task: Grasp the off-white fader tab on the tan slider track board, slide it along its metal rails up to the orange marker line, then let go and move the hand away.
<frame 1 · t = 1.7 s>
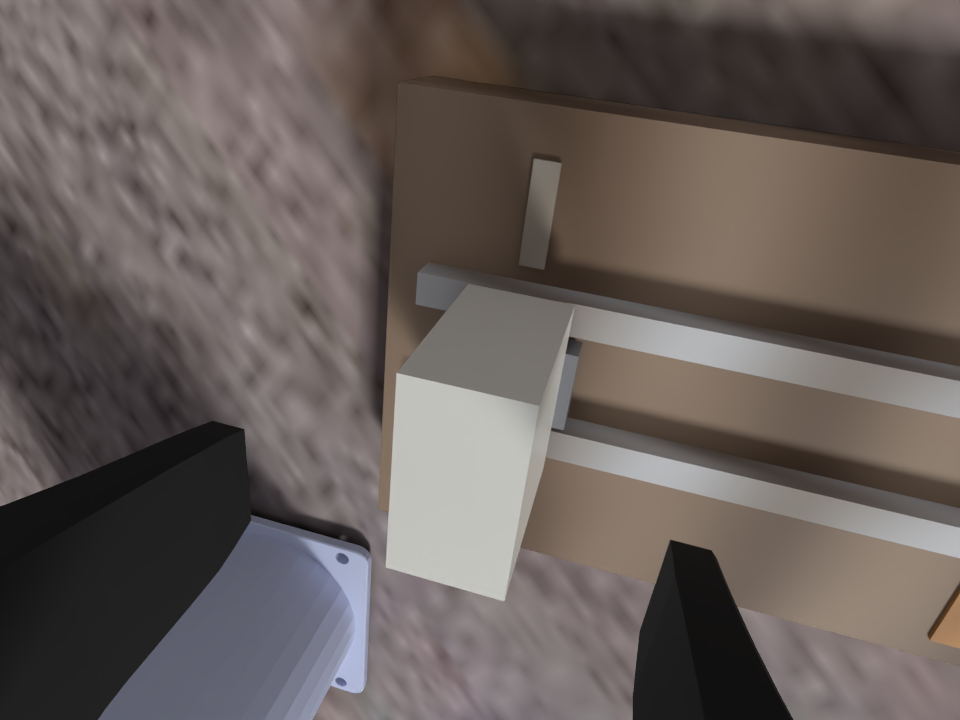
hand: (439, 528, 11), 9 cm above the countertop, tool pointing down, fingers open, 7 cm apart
tan slider track board: (775, 373, 17), on the countertop
fader: (489, 419, 14), point 5 cm above the countertop, slide at 0.0 cm
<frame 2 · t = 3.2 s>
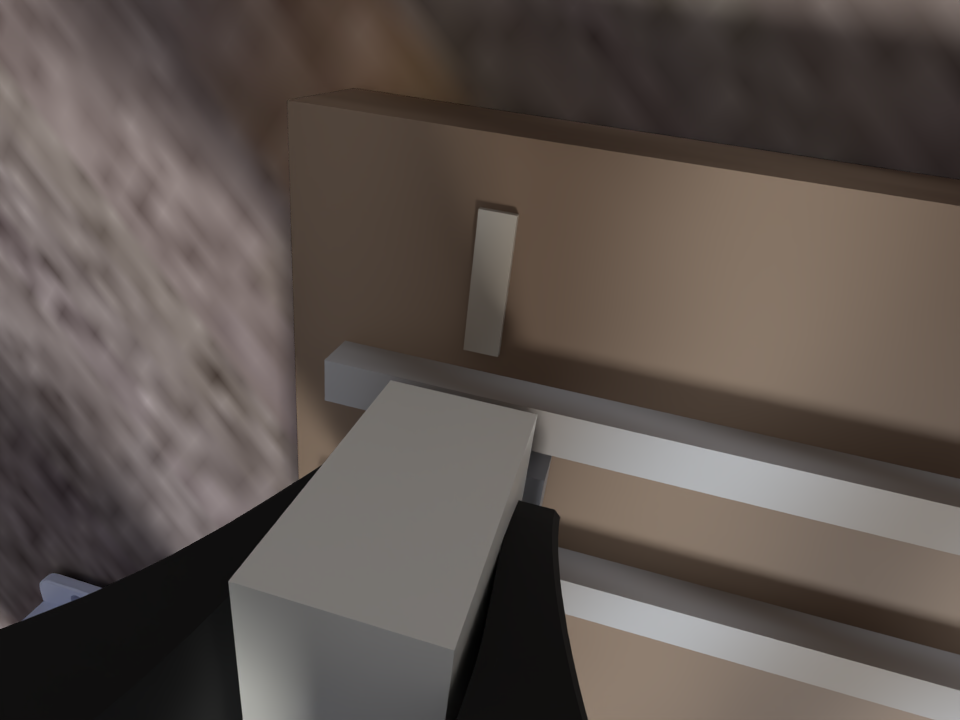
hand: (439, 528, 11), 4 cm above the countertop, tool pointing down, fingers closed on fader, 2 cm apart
tan slider track board: (809, 477, 13), on the countertop
fader: (414, 581, 10), point 5 cm above the countertop, slide at 0.0 cm, touching gripper
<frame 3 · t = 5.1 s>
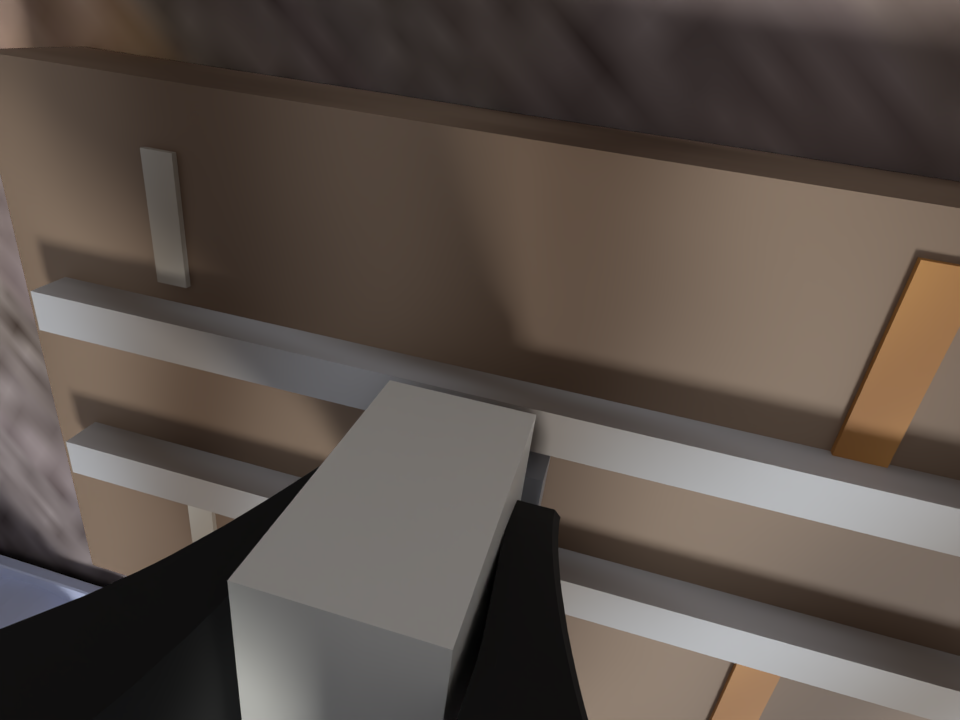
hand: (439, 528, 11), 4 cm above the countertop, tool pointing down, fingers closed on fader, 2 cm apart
tan slider track board: (524, 411, 14), on the countertop
fader: (413, 580, 10), point 5 cm above the countertop, slide at 5.9 cm, touching gripper
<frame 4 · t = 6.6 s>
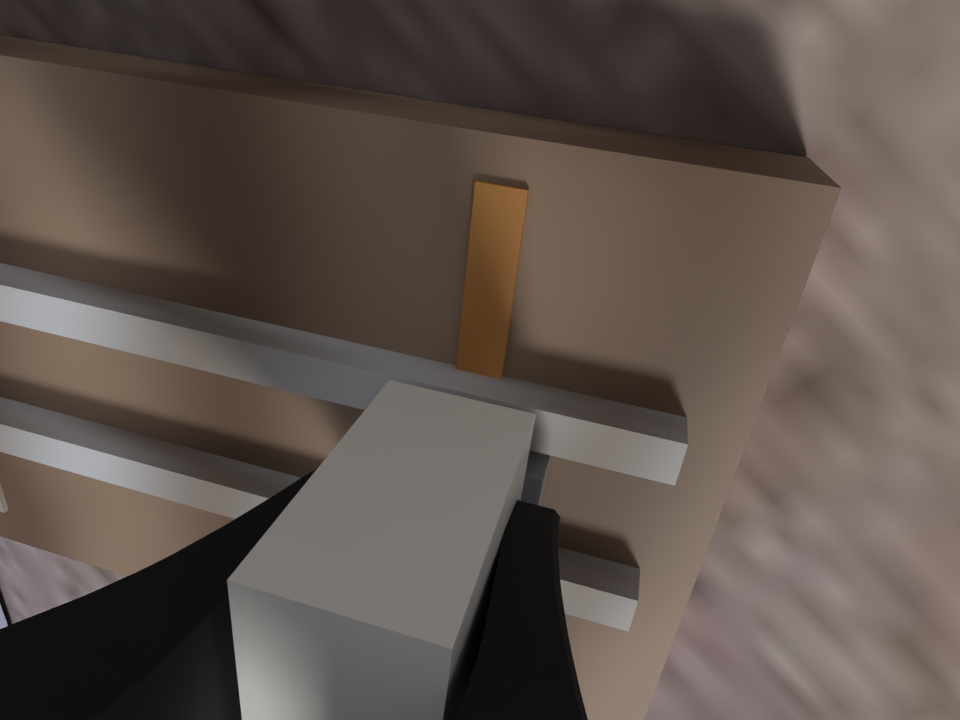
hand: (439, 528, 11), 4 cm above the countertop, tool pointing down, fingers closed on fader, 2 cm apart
tan slider track board: (270, 351, 15), on the countertop
fader: (413, 580, 10), point 5 cm above the countertop, slide at 12.0 cm, touching gripper
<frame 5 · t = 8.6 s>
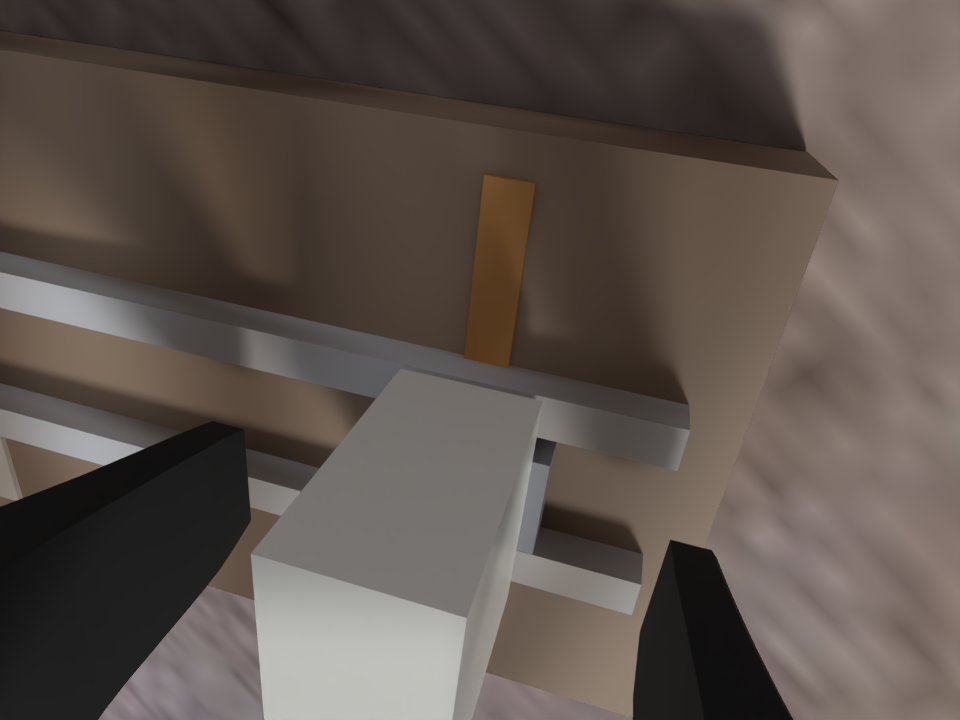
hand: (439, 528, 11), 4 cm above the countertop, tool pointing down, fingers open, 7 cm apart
tan slider track board: (280, 343, 16), on the countertop
fader: (424, 562, 10), point 5 cm above the countertop, slide at 12.0 cm
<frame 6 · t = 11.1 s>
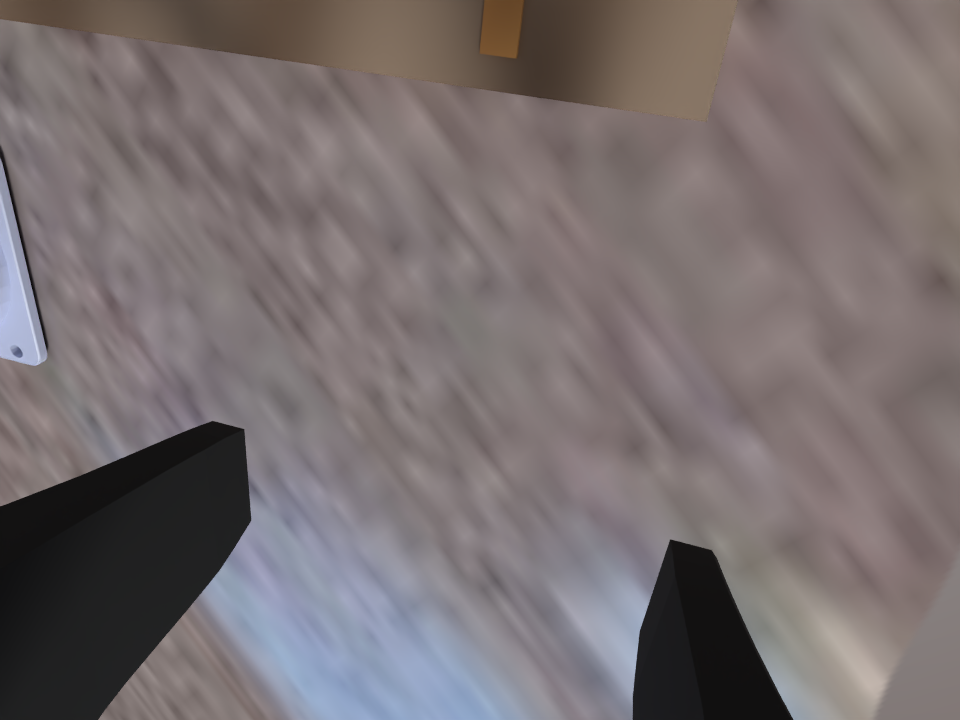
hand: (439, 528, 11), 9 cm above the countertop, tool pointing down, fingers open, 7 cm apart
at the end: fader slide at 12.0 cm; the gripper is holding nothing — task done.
